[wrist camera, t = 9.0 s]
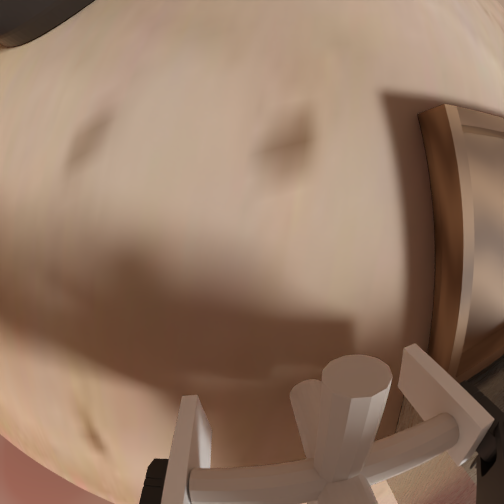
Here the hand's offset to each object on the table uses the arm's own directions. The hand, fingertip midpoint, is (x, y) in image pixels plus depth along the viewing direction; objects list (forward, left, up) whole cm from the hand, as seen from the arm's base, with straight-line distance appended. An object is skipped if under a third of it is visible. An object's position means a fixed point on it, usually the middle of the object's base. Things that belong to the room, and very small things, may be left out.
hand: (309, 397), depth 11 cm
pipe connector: (0, 0, -1) cm, 1 cm away
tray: (-4, +17, -2) cm, 18 cm away
